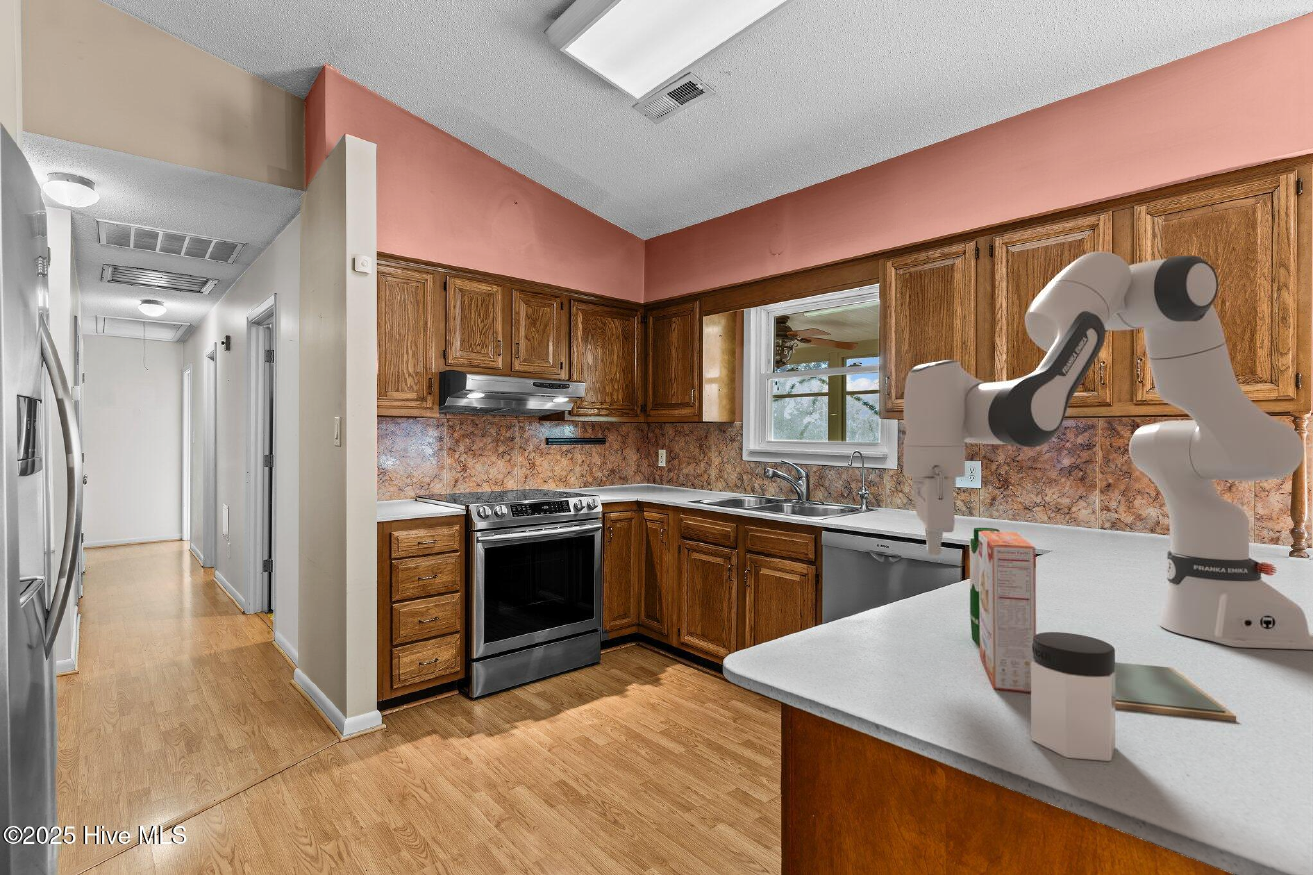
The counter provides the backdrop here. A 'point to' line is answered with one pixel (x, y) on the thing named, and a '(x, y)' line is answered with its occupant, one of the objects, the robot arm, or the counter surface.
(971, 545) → the soya milk
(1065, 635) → the jar
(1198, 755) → the counter surface
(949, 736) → the counter surface
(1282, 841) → the counter surface
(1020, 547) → the cracker box
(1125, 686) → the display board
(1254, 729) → the counter surface
